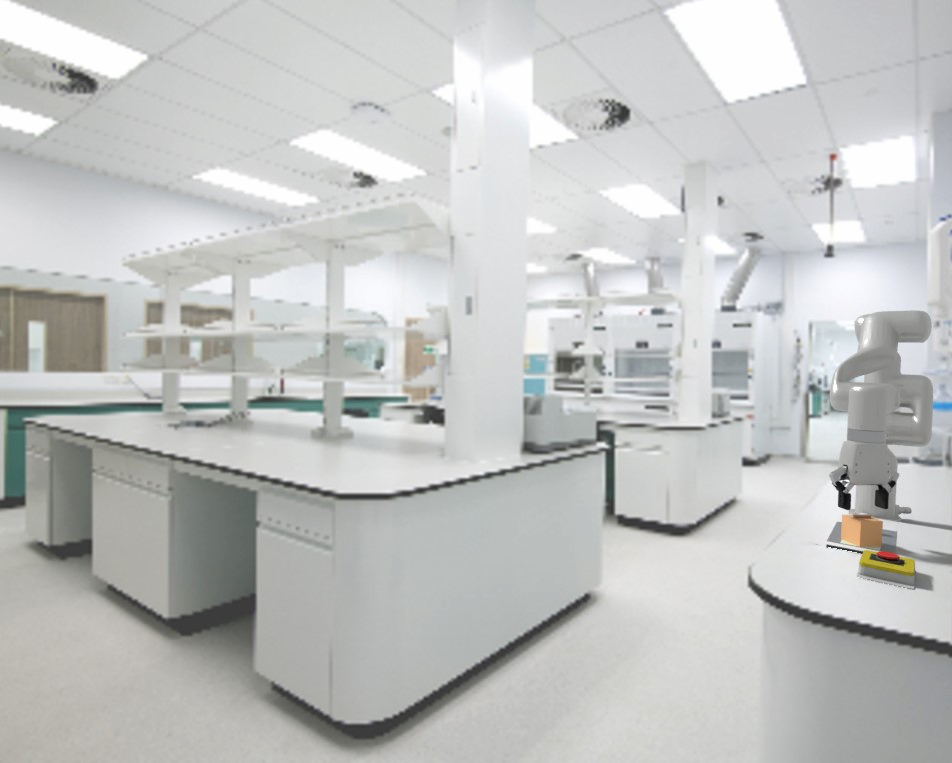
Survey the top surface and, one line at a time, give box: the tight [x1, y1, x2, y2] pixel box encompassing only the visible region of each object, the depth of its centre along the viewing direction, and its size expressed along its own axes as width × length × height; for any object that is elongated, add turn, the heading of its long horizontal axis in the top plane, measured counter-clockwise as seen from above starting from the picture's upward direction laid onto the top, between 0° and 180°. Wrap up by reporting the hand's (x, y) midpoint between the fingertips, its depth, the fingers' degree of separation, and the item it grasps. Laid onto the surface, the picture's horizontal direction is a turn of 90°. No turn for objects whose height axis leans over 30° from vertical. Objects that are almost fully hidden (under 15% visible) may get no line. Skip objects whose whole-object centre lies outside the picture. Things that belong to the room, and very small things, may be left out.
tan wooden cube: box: [841, 514, 884, 548], centre depth 130 cm, size 6×6×7 cm
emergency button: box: [856, 549, 917, 590], centre depth 114 cm, size 9×4×15 cm
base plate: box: [825, 513, 898, 555], centre depth 136 cm, size 24×13×6 cm, turn 141°
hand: (862, 508), depth 130 cm, fingers open, 9 cm apart
